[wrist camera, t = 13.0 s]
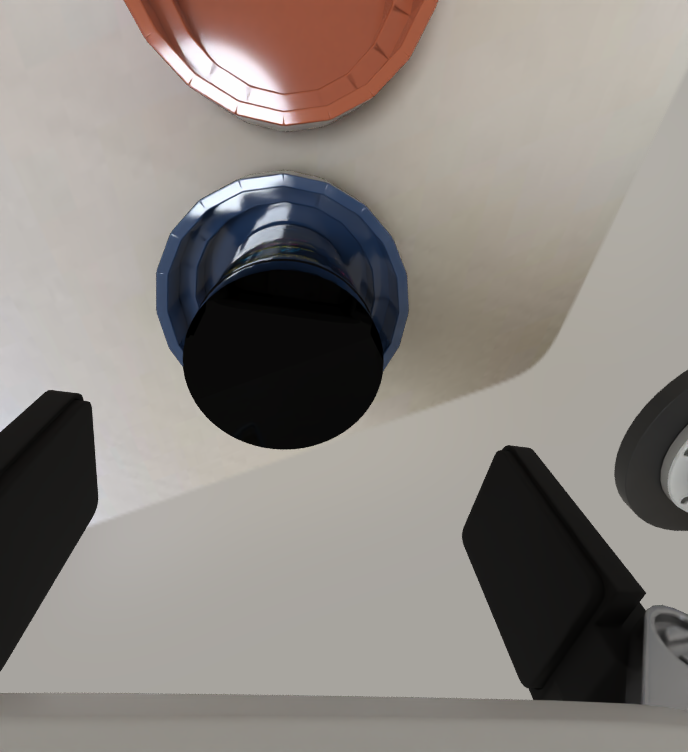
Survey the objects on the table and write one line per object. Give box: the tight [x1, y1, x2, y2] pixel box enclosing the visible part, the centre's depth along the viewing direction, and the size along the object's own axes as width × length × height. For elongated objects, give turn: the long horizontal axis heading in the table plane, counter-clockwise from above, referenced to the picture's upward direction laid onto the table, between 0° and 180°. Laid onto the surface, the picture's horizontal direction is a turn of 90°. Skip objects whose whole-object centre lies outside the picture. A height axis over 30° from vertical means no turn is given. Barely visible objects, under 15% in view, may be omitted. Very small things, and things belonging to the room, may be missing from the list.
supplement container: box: [183, 225, 384, 449], centre depth 19 cm, size 7×7×10 cm
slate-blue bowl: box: [156, 170, 409, 371], centre depth 22 cm, size 11×11×5 cm
